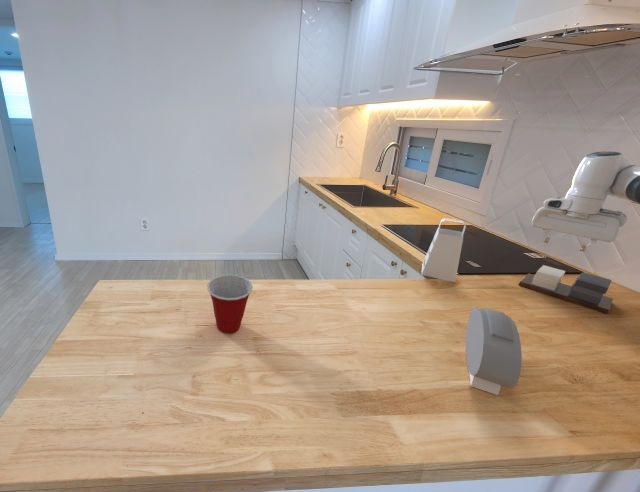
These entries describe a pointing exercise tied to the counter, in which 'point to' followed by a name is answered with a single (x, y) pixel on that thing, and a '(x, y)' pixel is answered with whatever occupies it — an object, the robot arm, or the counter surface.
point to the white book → (550, 273)
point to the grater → (444, 253)
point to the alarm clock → (492, 350)
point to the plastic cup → (229, 300)
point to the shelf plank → (566, 294)
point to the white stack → (545, 283)
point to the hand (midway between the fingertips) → (563, 246)
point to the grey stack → (589, 288)
